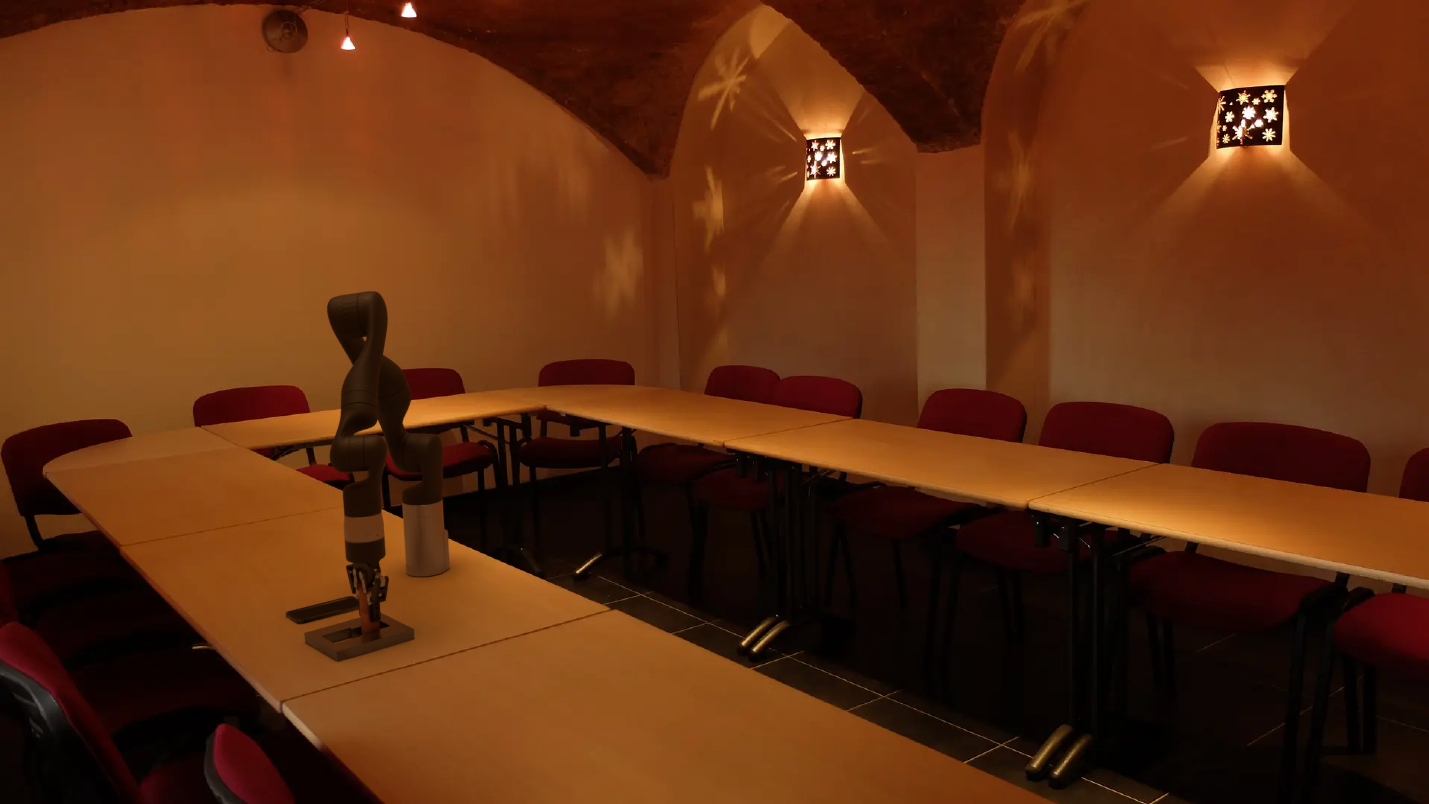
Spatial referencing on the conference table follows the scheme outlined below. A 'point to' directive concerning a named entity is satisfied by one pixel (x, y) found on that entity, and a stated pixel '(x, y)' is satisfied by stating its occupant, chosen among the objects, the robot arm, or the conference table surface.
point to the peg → (366, 613)
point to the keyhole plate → (367, 642)
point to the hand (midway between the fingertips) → (370, 618)
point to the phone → (323, 610)
